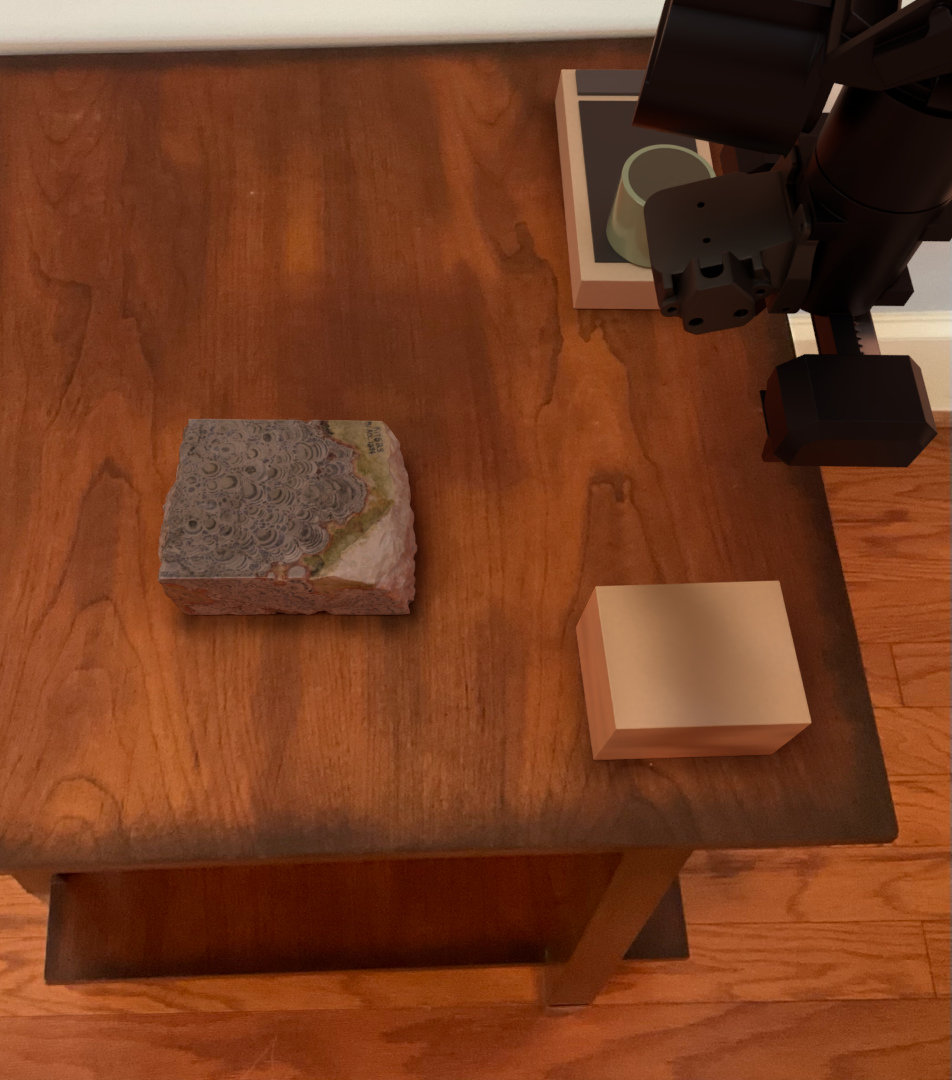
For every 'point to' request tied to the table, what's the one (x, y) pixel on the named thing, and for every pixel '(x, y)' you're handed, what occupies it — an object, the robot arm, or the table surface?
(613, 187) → the copier
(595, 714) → the riser
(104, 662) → the table surface
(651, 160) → the cup
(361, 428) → the geological specimen
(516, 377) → the table surface
